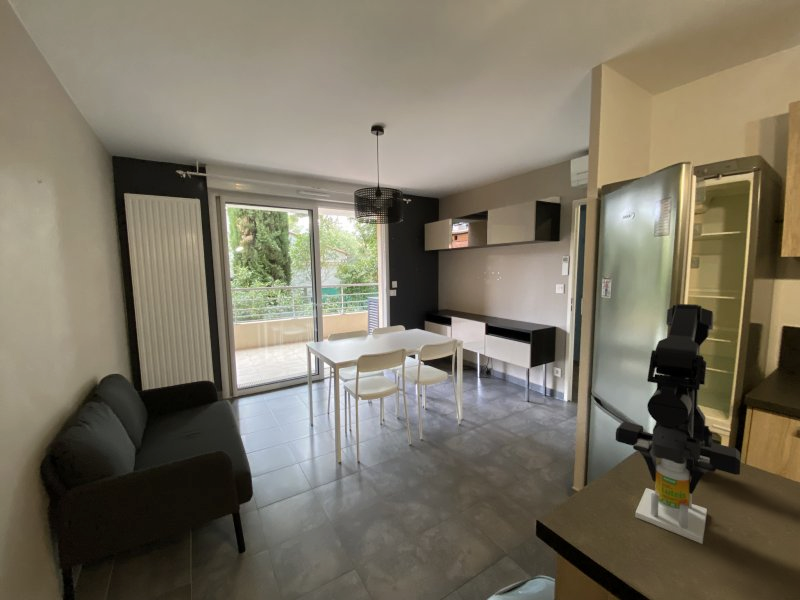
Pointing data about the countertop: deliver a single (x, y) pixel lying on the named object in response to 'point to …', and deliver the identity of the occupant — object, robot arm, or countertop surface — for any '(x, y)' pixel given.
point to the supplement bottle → (672, 484)
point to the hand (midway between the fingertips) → (672, 486)
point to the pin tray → (673, 516)
